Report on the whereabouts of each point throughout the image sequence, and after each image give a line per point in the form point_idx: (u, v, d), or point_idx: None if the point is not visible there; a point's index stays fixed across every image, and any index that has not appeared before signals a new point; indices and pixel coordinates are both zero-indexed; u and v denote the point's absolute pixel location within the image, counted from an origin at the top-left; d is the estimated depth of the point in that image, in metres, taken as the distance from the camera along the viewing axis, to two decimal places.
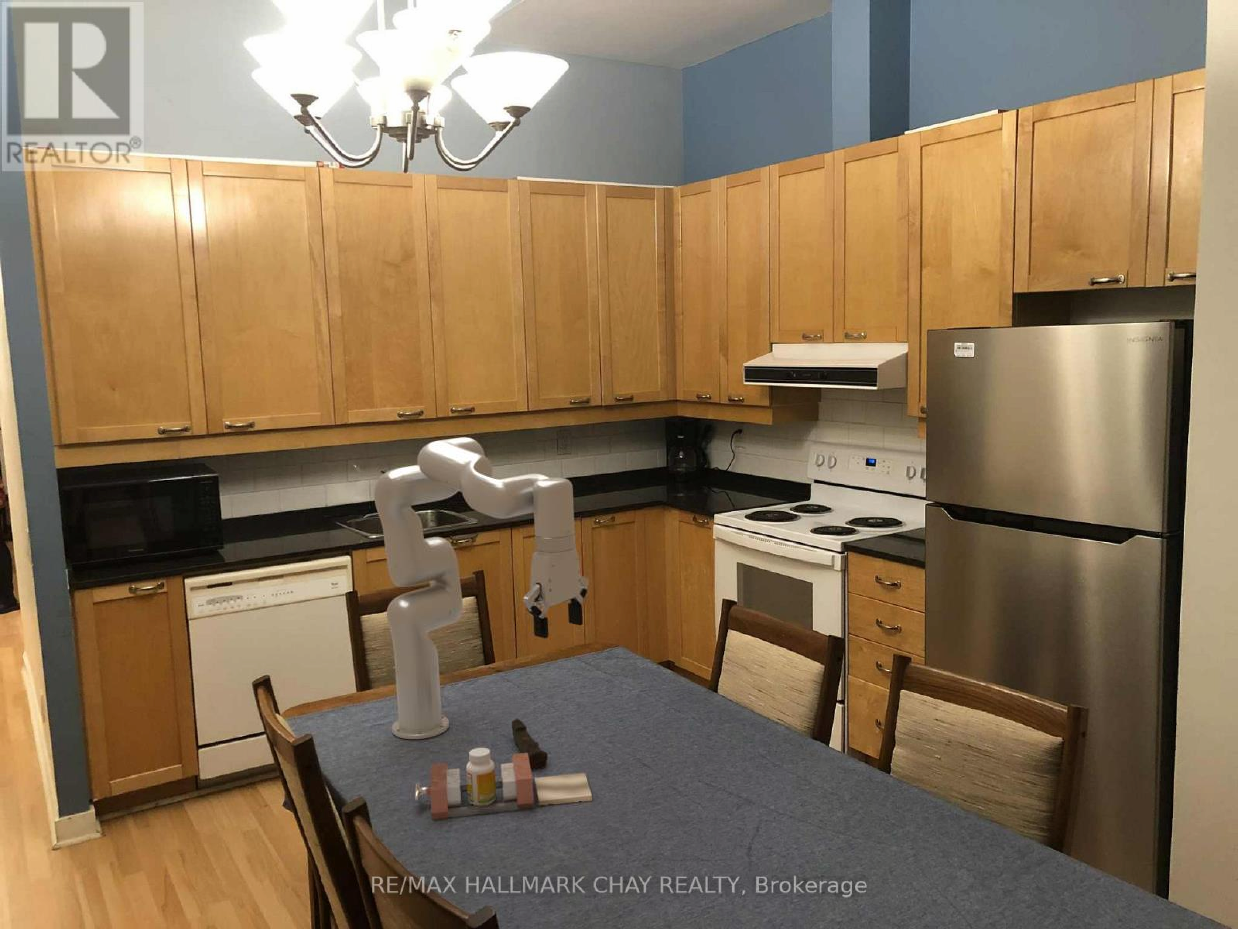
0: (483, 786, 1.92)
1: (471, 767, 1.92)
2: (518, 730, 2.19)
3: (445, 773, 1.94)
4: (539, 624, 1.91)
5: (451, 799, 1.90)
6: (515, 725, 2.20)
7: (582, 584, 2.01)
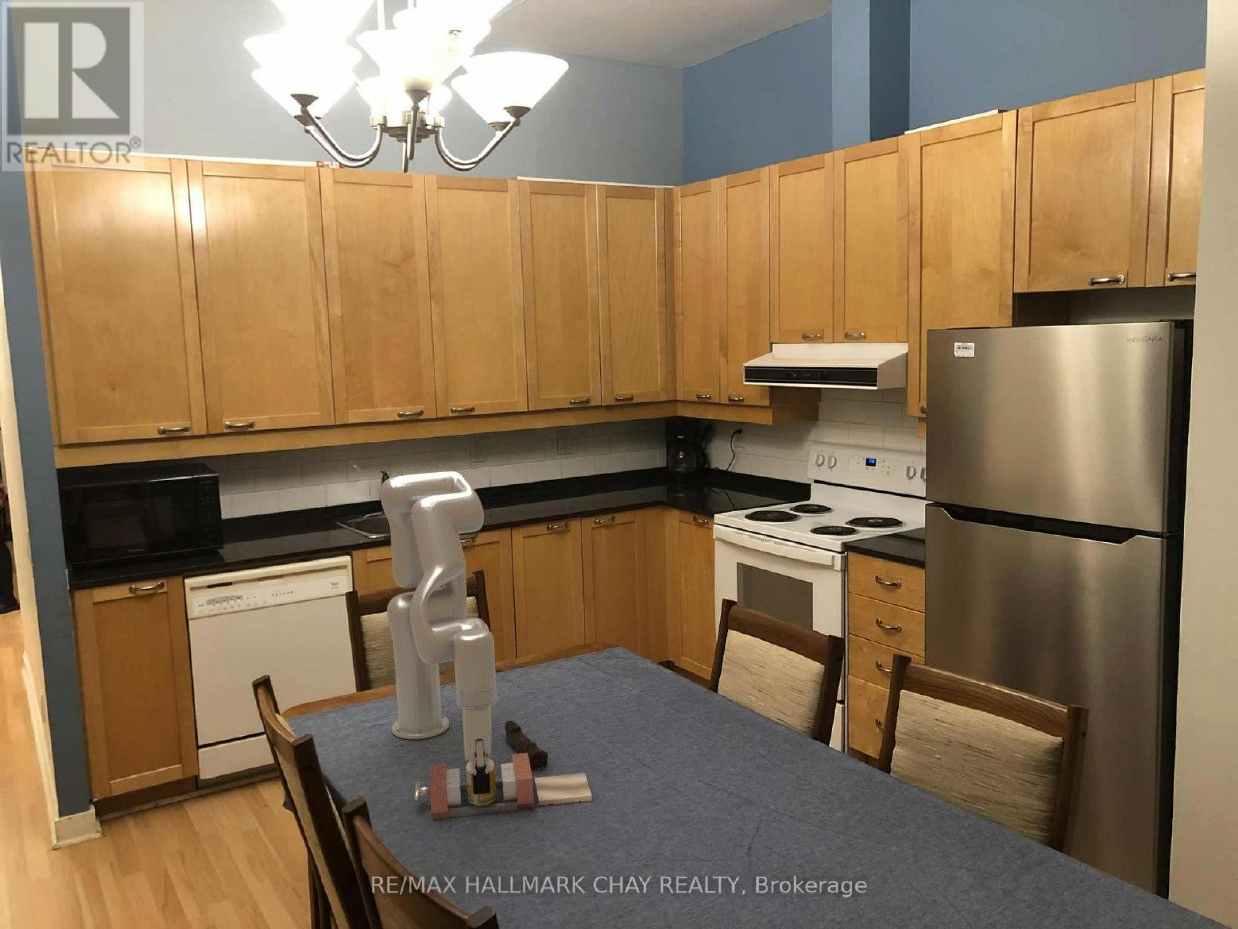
0: None
1: (471, 767, 1.92)
2: (513, 731, 2.18)
3: (445, 773, 1.94)
4: (485, 781, 1.90)
5: (451, 799, 1.90)
6: (510, 726, 2.19)
7: None
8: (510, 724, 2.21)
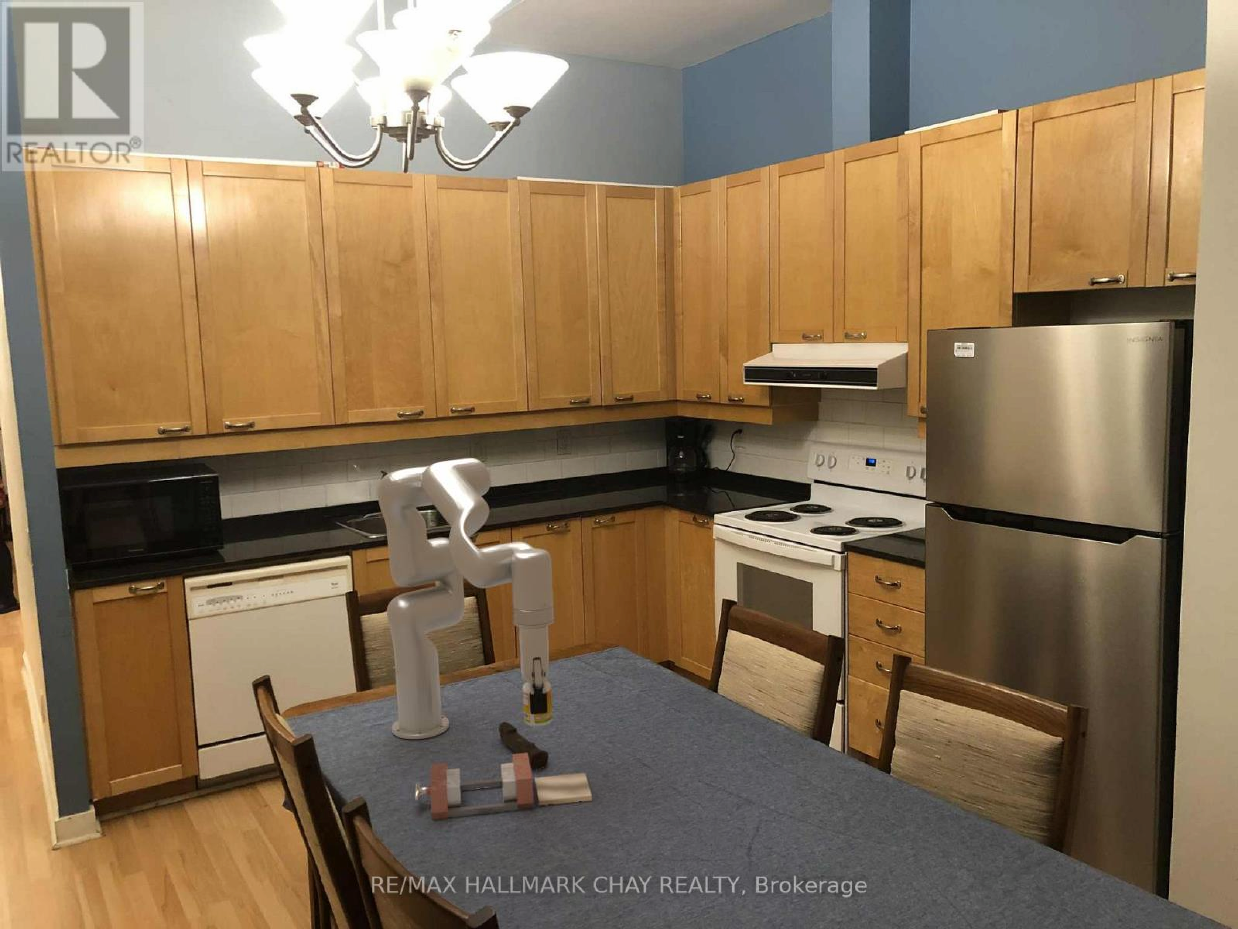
0: None
1: (528, 687, 1.92)
2: (509, 732, 2.18)
3: (445, 773, 1.94)
4: (542, 700, 1.90)
5: (451, 799, 1.90)
6: (505, 728, 2.19)
7: None
8: (505, 725, 2.20)
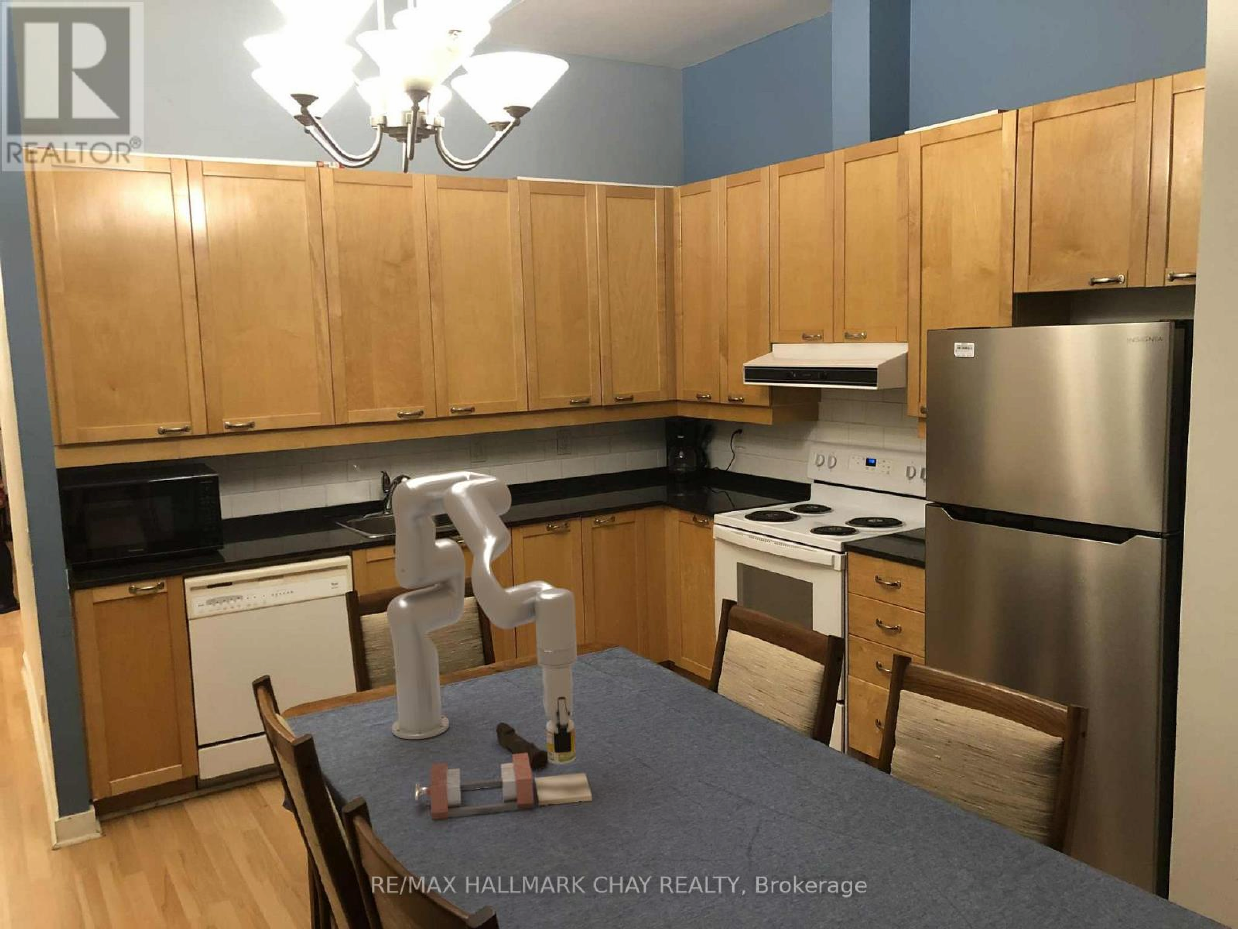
0: None
1: (552, 725, 1.94)
2: (508, 733, 2.17)
3: (445, 773, 1.94)
4: (566, 739, 1.92)
5: (451, 799, 1.90)
6: (503, 728, 2.18)
7: None
8: (503, 726, 2.20)
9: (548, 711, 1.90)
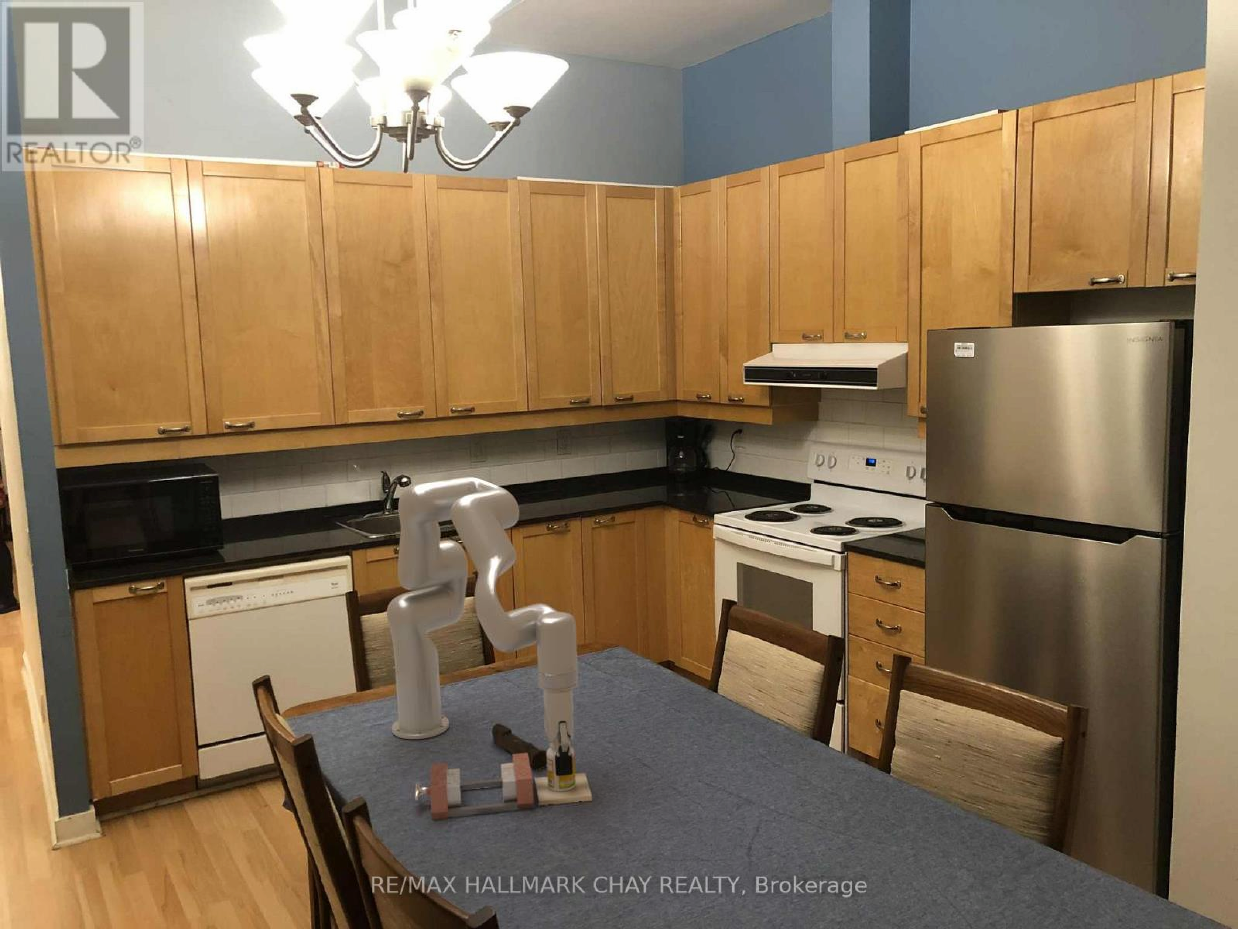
0: None
1: (552, 753, 1.95)
2: (505, 734, 2.17)
3: (445, 773, 1.94)
4: (568, 762, 1.91)
5: (451, 799, 1.90)
6: (500, 729, 2.18)
7: None
8: (499, 727, 2.19)
9: (549, 735, 1.91)
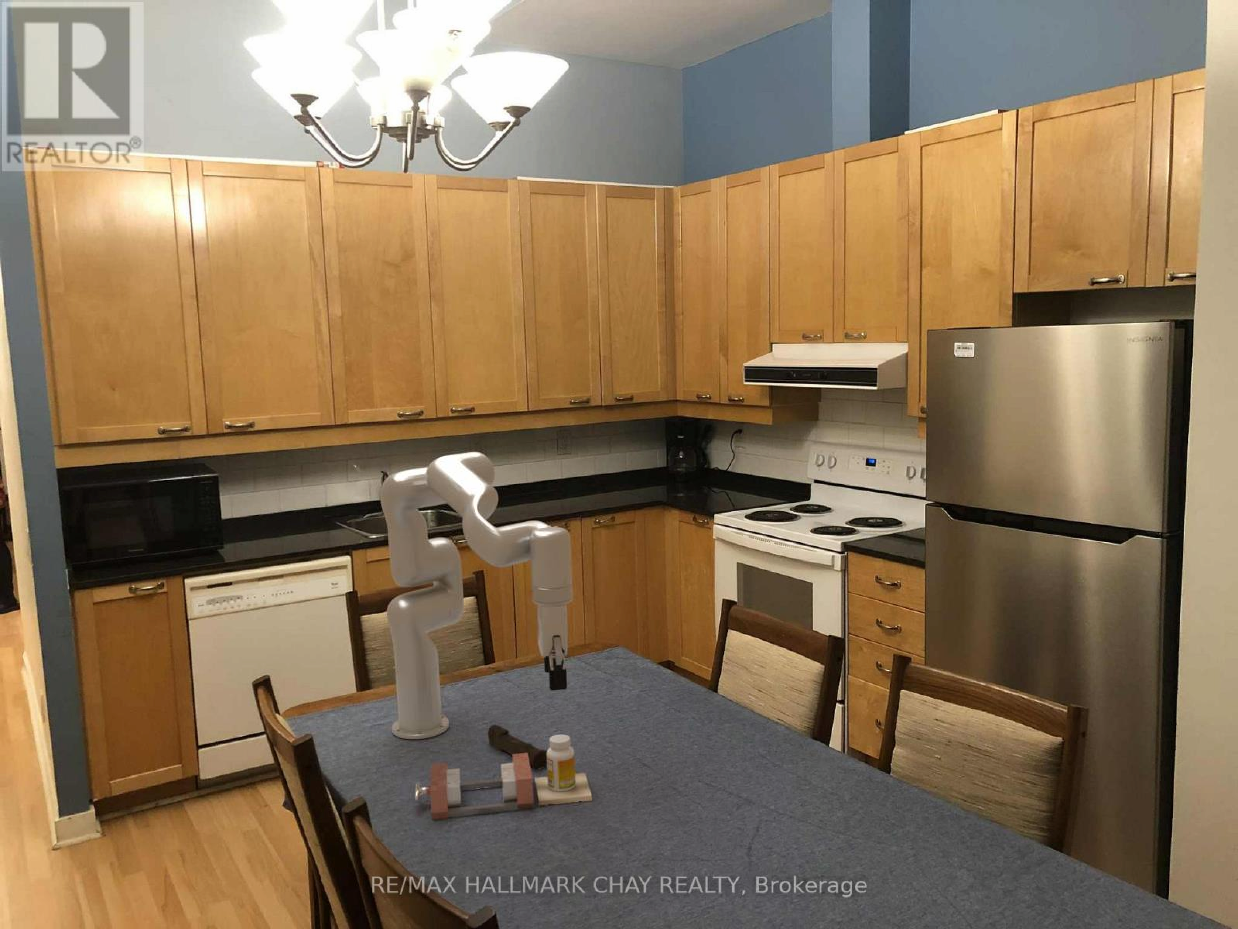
0: (564, 772, 1.94)
1: (552, 753, 1.95)
2: (502, 735, 2.16)
3: (445, 773, 1.94)
4: (562, 676, 1.89)
5: (451, 799, 1.90)
6: (497, 730, 2.17)
7: None
8: (496, 728, 2.18)
9: (543, 649, 1.88)
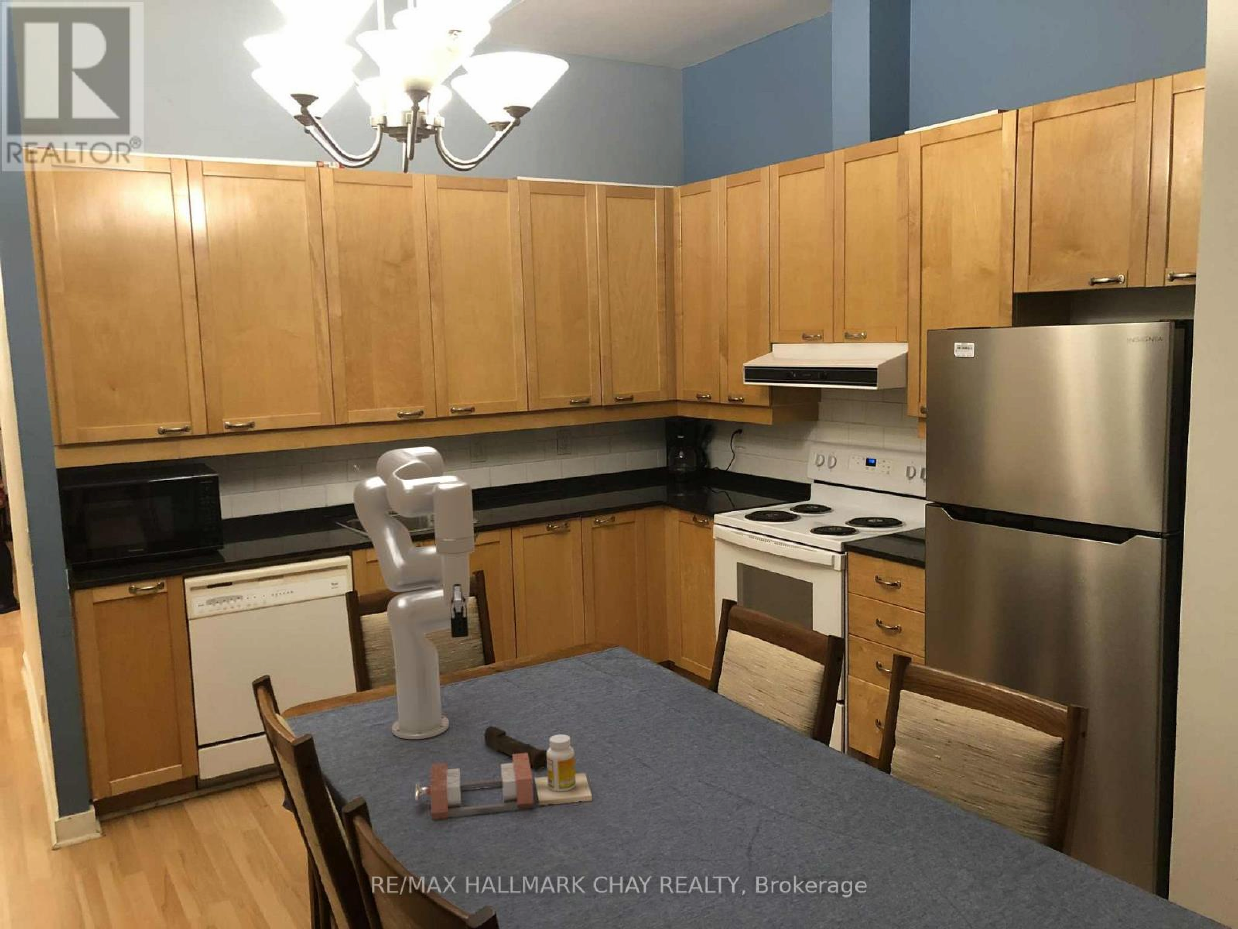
0: (564, 772, 1.94)
1: (552, 753, 1.95)
2: (500, 736, 2.16)
3: (445, 773, 1.94)
4: (463, 624, 1.96)
5: (451, 799, 1.90)
6: (494, 732, 2.17)
7: None
8: (493, 730, 2.18)
9: (444, 598, 1.96)
